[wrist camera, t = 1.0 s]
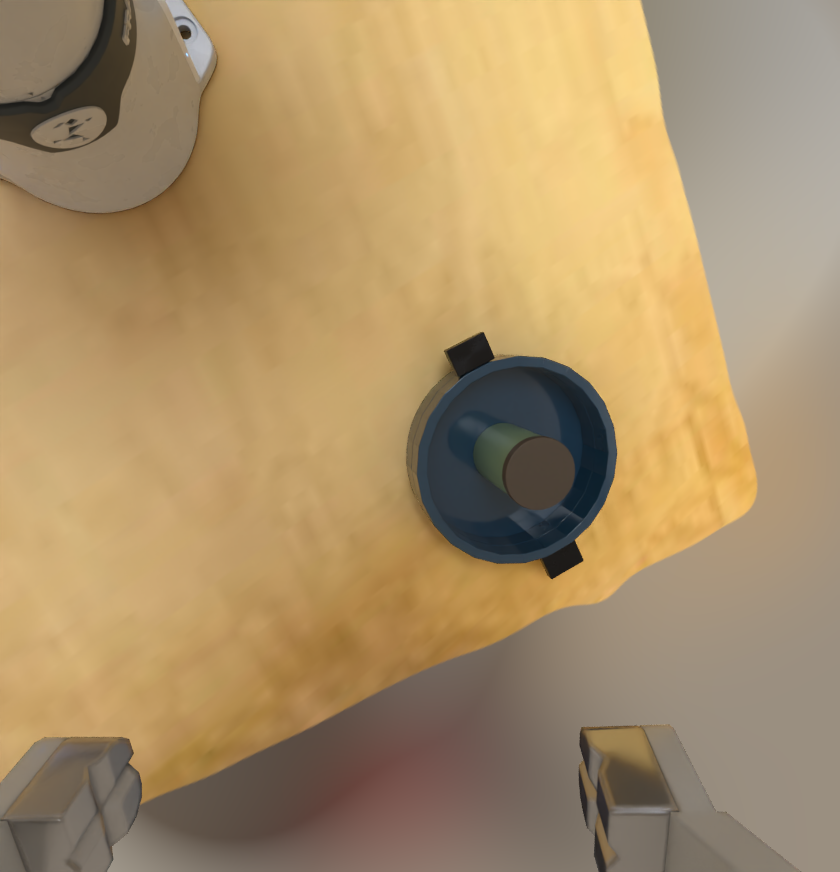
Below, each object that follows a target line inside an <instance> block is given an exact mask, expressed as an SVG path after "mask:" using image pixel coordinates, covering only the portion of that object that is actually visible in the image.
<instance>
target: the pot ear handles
mask: <svg viewBox="0 0 840 872" xmlns="http://www.w3.org/2000/svg"><path fill="white" fill-rule="evenodd" d="M444 352H445V354H446V357H447V359H448V361H449V363H450V365H451V367H452V370H453V372H454V374H455V376H456V377H460V376H462V375H464V374H466V373H468V372H470V371H472V370H474V369H476V368H478V367H479V366H481V365H483V364H485V363H487V362H489V361H491V360H493V359H495V357H494V355H493V353H492V350H491V348H490V346H489V344H488V341H487V339H486V337H485V334H484V332H480V333H478V334H476V335H474V336H472V337H470V338H468V339H466V340H464V341H462V342H460V343H458V344H456V345H454V346H452V347H450V348H448V349H446V350H445V351H444ZM540 560H541V562H542V565H543V567H544V569H545V571H546V573H547V575H548V576H549V577H550V578H551V579H553V578H555V577H556V576H558V575H560V574H562V573H563V572H565V571H567V570H568V569H570V568H572V567H574V566H575V565H577V564H579V563H581V562H582V561H583V558H582V556H581V553H580V551H579V549H578V547H577V544H576V542H575V540H574V541H573V542H572V543H570V544H568V545H567V546H565V547H563V548H562V549H560V550H558V551H556V552H555V553H553V554H551V555H549V556H548V557H544V558H541V559H540Z"/></svg>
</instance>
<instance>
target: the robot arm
mask: <svg viewBox="0 0 840 872" xmlns="http://www.w3.org/2000/svg"><path fill="white" fill-rule="evenodd" d="M182 31H189V32H190V33H191V36H190V38H188V39H183V38H182V36H181V34H180V33H181V32H182ZM216 62H217V52H216V49H215V47H214V45H213V43H212V41H211V39H210V37H209V36H208V35H207V33H206V32H205V30H204V29H203V28H202V26H201V25H200V23H199V22H198V21H197V19H196V18H195V17H194V15H193V14H192V12H191V11H190V10H189V8H188V7H187V5H186V4H185V3H184V1H183V0H0V179H4V180H6V181H8V182H11V183H13V184H15V185H17V186H18V187H20V188H22V189H24V190H25V191H27V192H29V193H31V194H32V195H34V196H36V197H38V198H40V199H42V200H44V201H46V202H49V203H51V204H54V205H56V206H59V207H62V208H66V209H70V210H74V211H80V212H87V213H111V212H118V211H123V210H127V209H131V208H134V207H137V206H139V205H142V204H144V203H146V202H148V201H150V200H152V199H153V198H155V197H157V196H158V195H159V194H161V193H162V192H163V191H165V190H166V189H167V188H168V187H169V186H170V185H171V184H172V183H173V182H174V181H175V180H176V179H177V177H178V176H179V175H180V173H181V172H182V171H183V169H184V167H185V165H186V164H187V162H188V160H189V158H190V155H191V153H192V150H193V147H194V144H195V140H196V135H197V129H198V116H199V104H200V98H201V94H202V92H203V90H204V89H205V87H206V85H207V83H208V81H209V79H210V78H211V76H212V73H213V71H214V69H215V66H216ZM580 748H581V752H582V755H583V759H584V760H583V761H582V762H581V764H579V787H580V798H581V803H582V808H583V813H584V817H585V822H586V826H587V828H588V829H589V831H591V832H592V834H593V835H595V847H594V857H595V860H596V864H597V868H598V871H599V872H801V871H799V870H798V869H797V868H796V867H794V866H793V865H792V864H791V863H789V862H788V861H787V860H786V859H784V858H783V857H782V856H781V855H779V854H778V853H777V852H776V851H774V850H773V849H772V848H771V847H769V846H768V845H767V844H766V843H764V842H763V841H762V840H761V839H759V838H758V837H757V836H756V835H754V834H753V833H752V832H751V831H749V830H748V829H747V828H746V827H744V826H743V825H742V824H740V823H739V822H738V821H737V820H735V819H734V818H733V817H732V816H730V815H729V814H728V813H727V812H716V810H715V808H714V806H713V804H712V802H711V800H710V799H709V796H708V794H707V792H706V790H705V789H704V787H703V785H702V783H701V781H700V779H699V777H698V775H697V773H696V771H695V769H694V767H693V765H692V763H691V761H690V759H689V757H688V755H687V753H686V751H685V749H684V747H683V746H682V743H681V742H680V740H679V738H678V736H677V734H676V732H675V730H674V729H673V728H672V727H671V726H670V725H640V726H608V727H582V728H581V732H580ZM133 754H134V752H133V749H132V746H131V743H130V740H129V739H127V738H123V737H44V738H42V739H41V740H39V741H37V742H35V743H34V744H33V745H32V746H31V748H30V749H29V750H28V751H27V752H26V753H25V755H24V756H23V757H22V758H21V759H20V760H19V762H18V763H17V764H16V765H15V766H14V767H13V769H12V770H11V771H10V772H9V773H8V775H7V776H6V777H5V778H4V779H3V780H2V782H1V783H0V872H107V870H108V868H109V867H110V865H111V863H112V861H113V853H112V846H113V845H114V844H115V843H117V842H118V841H119V840H120V839H121V838H123V837H124V836H125V835H126V834H127V833H128V832H129V830H130V828H131V826H132V824H133V822H134V820H135V818H136V816H137V813H138V809H139V805H140V802H141V798H142V783H141V779H140V775H139V772H138V771H137V770H135V769H134V768H133V767H132V766H131V765H130V764H129V763H128V762H129V761H130V759H131V757H132V755H133Z"/></svg>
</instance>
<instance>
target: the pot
mask: <svg viewBox="0 0 840 872" xmlns="http://www.w3.org/2000/svg"><path fill="white" fill-rule="evenodd" d="M494 357H495V359H493V360H491V361H489V362H487V363H485V364H483V365H481V366H479V367H478V368H476V369H474V370H472V371H470V372H468V373H466V374H464V375H462V376H460V377H456V376H455V374H454V372H453V371H452V372H450V373H449V374H448V375H446V376H445V377H444V378H443V379H441V380H440V381H439V382H438V383H437V384H436V385H435V386H434V387H433V388H432V389H431V391H430V392H429V393H428V395H427V396H426V397H425V399H424V400H423V401H422V403H421V405H420V407H419V409H418V410H417V412H416V415H415V417H414V420H413V422H412V425H411V428H410V432H409V436H408V443H407V469H408V476H409V480H410V484H411V488H412V490H413V492H414V494H415V496H416V498H417V500H418V502H419V504H420V506H421V508H422V510H423V511H424V512H425V514H426V515H427V517H428V518H429V519H430V521H431V522H432V523H433V525H434V526H435V527H436V528H437V529H438V530H439V531H440V532H441V534H442V535H443V536H444V537H445V538H446V539H447V540H448V541H449V542H450V543H451V544H452V545H454V546H455V547H457V548H459V549H460V550H462V551H464V552H465V553H467V554H469V555H470V556H472V557H474V558H478V559H482V560H485V561H489V562H493V563H497V564H498V563H499V564H500V563H526V562H530V561H533V560H537V559H541V558H544V557H548V556H549V555H551V554H553V553H555V552H556V551H558V550H560V549H562V548H563V547H565V546H567V545H568V544H570V543H572V542H573V541H574V540H575V539H576V538H577V537H578V536H579V535H580V534H581V533H582V532H583V531H584V530H586V529H587V528H588V527H589V526H590V525H591V523H592V522H593V520H594V519H595V517H596V516H597V514H598V513H599V511H600V510H601V508H602V507H603V505H604V503H605V501H606V498H607V495H608V493H609V490H610V487H611V485H612V482H613V478H614V474H615V466H616V458H617V447H616V439H615V431H614V427H613V423H612V420H611V418H610V415H609V413H608V410H607V408H606V405H605V403H604V401H603V400H602V398H601V397H600V396H599V394H598V393H597V392H596V390H595V389H594V388H593V386H592V385H591V384H590V382H588V381H587V380H586V379H584V378H583V377H582V376H580V375H579V374H578V373H576V372H575V371H574V370H572V369H571V368H570V367H568V366H565V365H563V364H560V363H557V362H555V361H552V360H549V359H546V358H543V357H528V356H514V355H494ZM499 423H509V424H513V425H515V426H518V427H521V428H523V429H526V430H528V431H531V432H533V433H536V434H539V435H541V436H547V437H550V438H553V439H555V440H558V441H559V442H561V443H562V444H563V445H565V446H566V447H567V449H568V450H569V451H570V453H571V455H572V457H573V460H574V464H575V477H574V481H573V484H572V487H571V489H570V491H569V492H568V494H567V495H566V496H565V497H564V498H563V500H561V501H560V502H559V503H558V504H556V505H554V506H552V507H550V508H547V509H543V510H531V509H527V508H524V507H522V506H520V505H519V504H518V503H516V502H515V501H514V500H512V499H511V498H510V496H509V495H508V494H506V493H505V492H504V491H502V490H501V489H499V488H498V487H497V486H495V485H494V484H493V483H491V482H490V481H488V480H487V479H486V478H484V477H483V476H482V475H481V474H480V473H479V472H478V470H477V468H476V466H475V464H474V459H473V451H474V446H475V443H476V441H477V439H478V437H479V436H480V434H481V433H482V432H483V431H484V430H486V429H487V428H488V427H490V426H492V425H495V424H499Z"/></svg>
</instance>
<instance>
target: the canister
mask: <svg viewBox="0 0 840 872" xmlns="http://www.w3.org/2000/svg"><path fill="white" fill-rule="evenodd" d="M473 459H474V464H475V466H476V468H477V470H478V472H479V473H480V474H481V475H482V476H483V477H484V478H486V479H487V480H488V481H490V482H491V483H493V484H494V485H495V486H497V487H498V488H499V489H501V490H502V491H504V492H505V493H506V494H508V495H509V496H510V498H511V499H512V500H514V501H515V502H516V503H518V504H519V505H520V506H522V507H524V508H527V509H531V510H543V509H547V508H550V507H552V506H554V505H556V504H558V503H559V502H560V501H561V500H563V498H564V497H565V496H566V495H567V494H568V492H569V491H570V489H571V487H572V484H573V481H574V477H575V464H574V460H573V457H572V455H571V453H570V451H569V450H568V449H567V447H566V446H565V445H563V444H562V443H561V442H559V441H558V440H555V439H553V438H550V437H547V436H541V435H539V434H536V433H533V432H531V431H528V430H526V429H523V428H521V427H518V426H515V425H513V424H509V423H499V424H495V425H492V426H490V427H488V428H487V429H486V430H484V431H483V432H482V433H481V434H480V436H479V437H478V439H477V441H476V443H475V446H474V451H473Z"/></svg>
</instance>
